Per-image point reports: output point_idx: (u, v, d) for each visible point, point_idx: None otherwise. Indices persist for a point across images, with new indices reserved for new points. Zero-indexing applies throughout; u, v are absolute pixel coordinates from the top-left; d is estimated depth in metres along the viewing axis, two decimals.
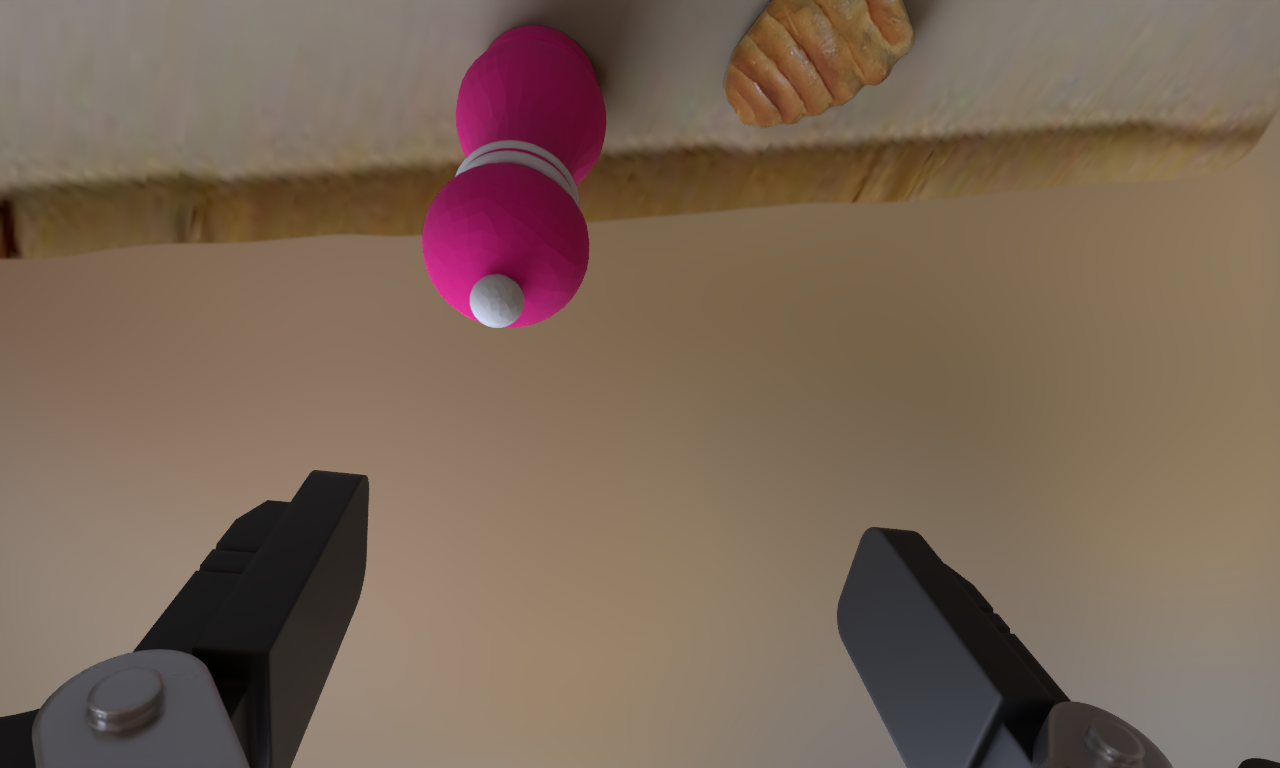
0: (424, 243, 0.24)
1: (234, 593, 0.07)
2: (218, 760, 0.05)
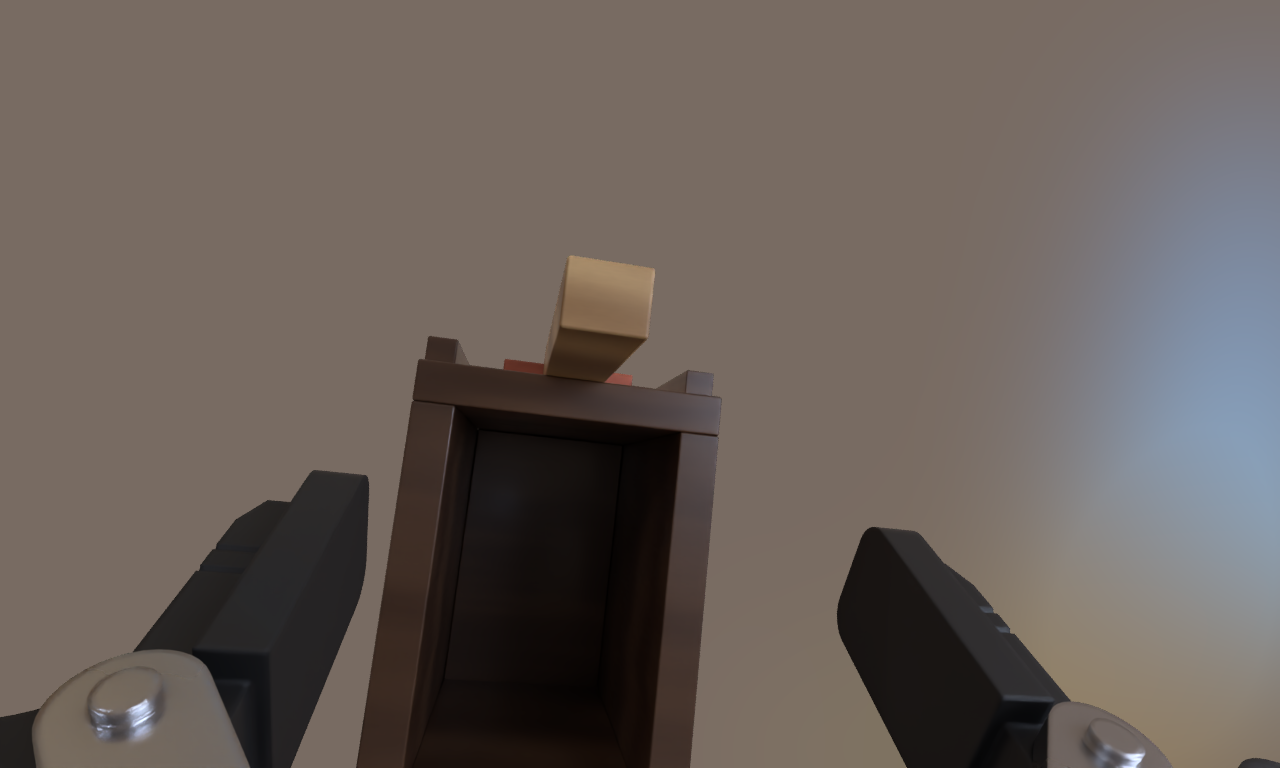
0: None
1: (234, 593, 0.07)
2: (218, 760, 0.05)
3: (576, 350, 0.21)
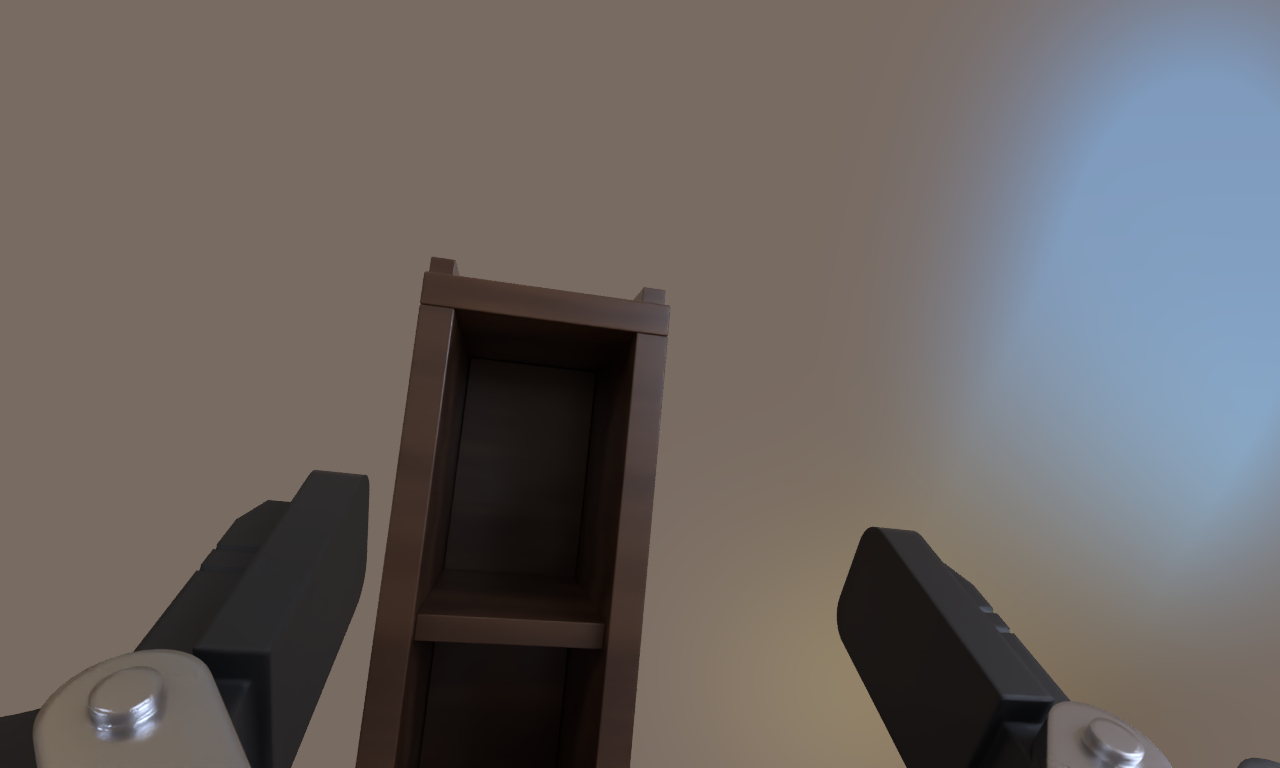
0: None
1: (235, 593, 0.07)
2: (219, 759, 0.05)
3: None
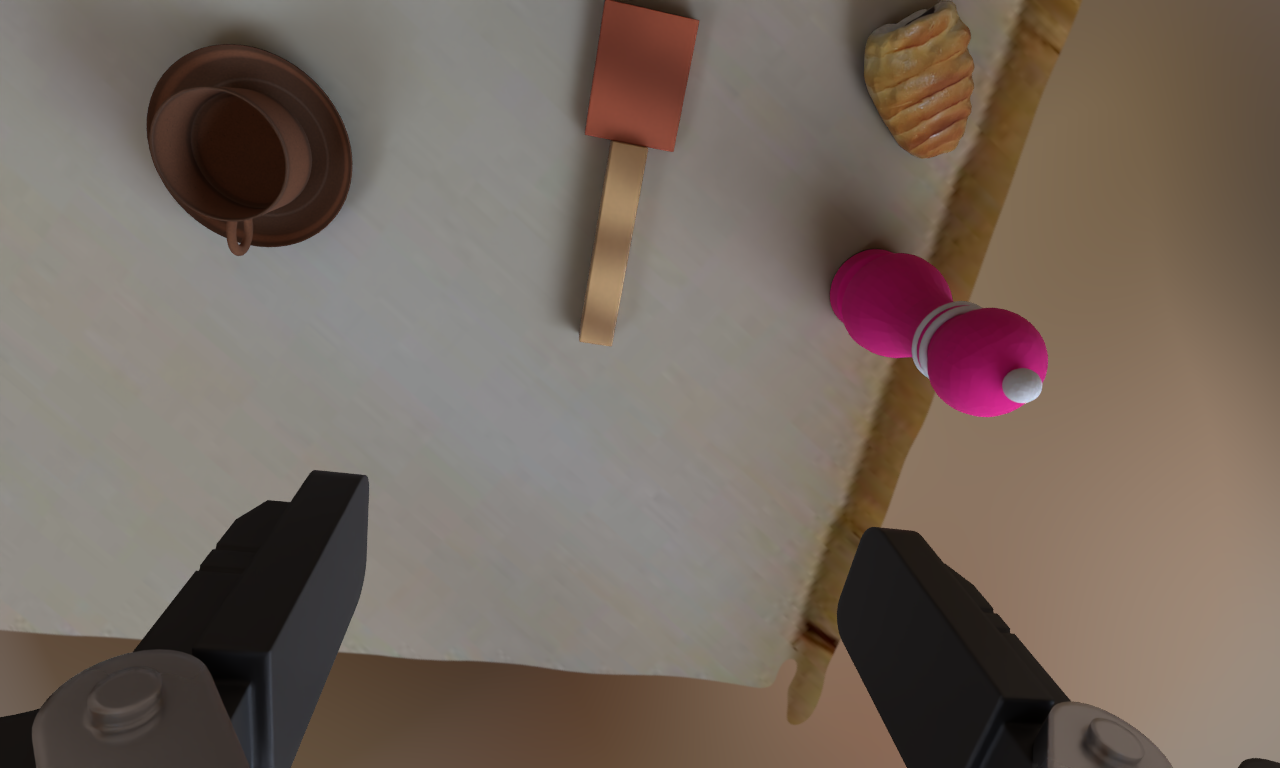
0: (962, 410, 0.37)
1: (234, 593, 0.07)
2: (218, 760, 0.05)
3: None
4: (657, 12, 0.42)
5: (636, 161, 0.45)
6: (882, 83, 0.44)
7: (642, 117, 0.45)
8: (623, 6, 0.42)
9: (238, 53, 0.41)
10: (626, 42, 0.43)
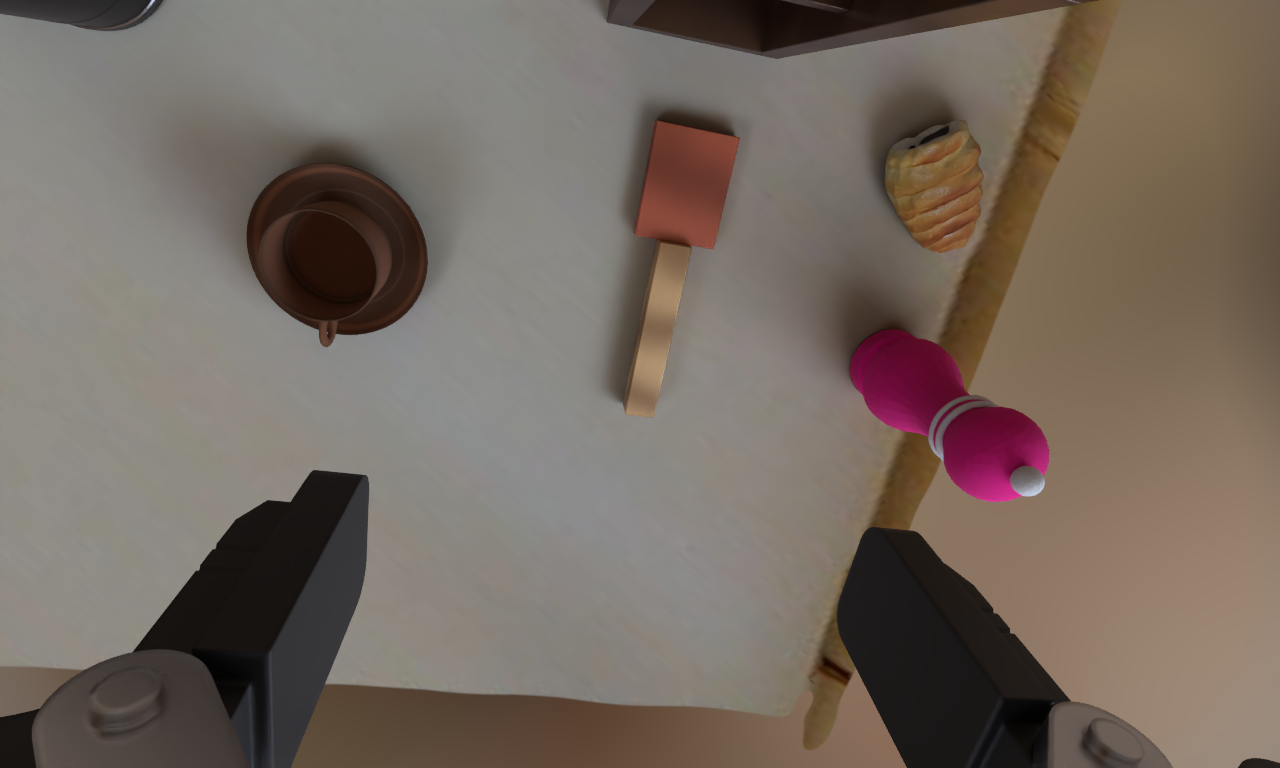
0: (974, 496, 0.43)
1: (234, 593, 0.07)
2: (217, 761, 0.05)
3: None
4: (702, 131, 0.48)
5: (680, 258, 0.50)
6: (902, 191, 0.49)
7: (686, 220, 0.50)
8: (672, 126, 0.47)
9: (330, 169, 0.46)
10: (675, 156, 0.48)
